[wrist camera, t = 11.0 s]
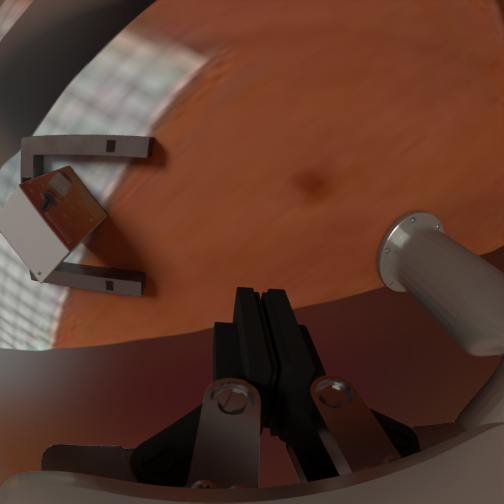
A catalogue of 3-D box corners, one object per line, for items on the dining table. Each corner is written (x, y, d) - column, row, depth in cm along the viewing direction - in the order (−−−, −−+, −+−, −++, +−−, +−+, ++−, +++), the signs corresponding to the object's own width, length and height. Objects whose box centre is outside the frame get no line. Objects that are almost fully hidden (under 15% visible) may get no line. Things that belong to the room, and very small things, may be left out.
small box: (109, 214, 30) (72, 253, 21) (80, 242, 31) (41, 286, 21) (69, 163, 27) (18, 183, 17) (42, 194, 27) (-8, 223, 18)
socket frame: (154, 137, 27) (148, 138, 25) (144, 286, 34) (140, 299, 32) (32, 136, 24) (18, 138, 21) (39, 271, 31) (29, 282, 28)
